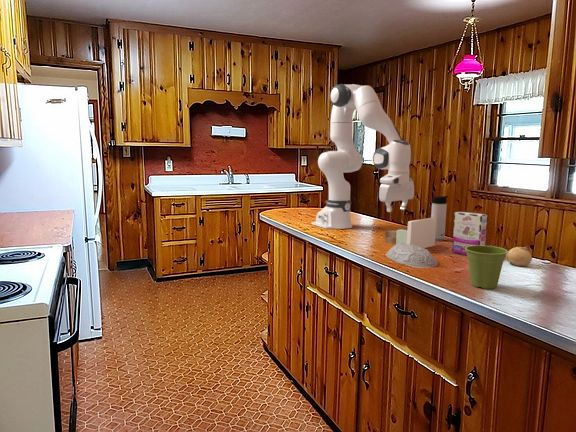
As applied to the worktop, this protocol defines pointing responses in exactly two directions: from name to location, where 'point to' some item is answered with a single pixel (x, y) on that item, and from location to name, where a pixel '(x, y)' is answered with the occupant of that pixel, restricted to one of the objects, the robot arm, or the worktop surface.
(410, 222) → the post block
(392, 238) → the rail
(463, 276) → the worktop surface
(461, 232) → the candy bar box
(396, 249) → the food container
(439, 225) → the travel mug
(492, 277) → the plant pot
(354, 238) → the worktop surface
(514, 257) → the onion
